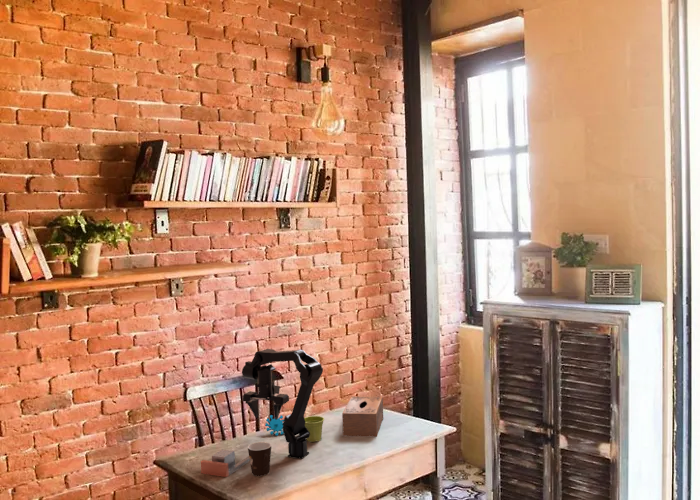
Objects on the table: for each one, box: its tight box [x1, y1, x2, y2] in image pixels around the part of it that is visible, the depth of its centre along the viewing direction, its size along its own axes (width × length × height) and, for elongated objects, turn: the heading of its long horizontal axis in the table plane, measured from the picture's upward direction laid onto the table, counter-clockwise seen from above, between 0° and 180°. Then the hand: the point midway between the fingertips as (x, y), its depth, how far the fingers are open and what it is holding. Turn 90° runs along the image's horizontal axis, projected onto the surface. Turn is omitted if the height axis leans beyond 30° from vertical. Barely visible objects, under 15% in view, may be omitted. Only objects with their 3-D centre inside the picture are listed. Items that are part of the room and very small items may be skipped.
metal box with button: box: [211, 448, 236, 469], centre depth 247 cm, size 6×8×6 cm
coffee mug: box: [247, 441, 272, 477], centre depth 240 cm, size 12×9×10 cm
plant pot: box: [304, 415, 325, 443], centre depth 275 cm, size 9×9×9 cm
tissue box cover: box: [341, 395, 384, 437], centre depth 290 cm, size 26×14×10 cm, turn 171°
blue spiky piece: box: [264, 414, 284, 437], centre depth 286 cm, size 11×6×10 cm
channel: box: [200, 455, 250, 478], centre depth 249 cm, size 11×18×4 cm, turn 157°
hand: (266, 418), depth 267 cm, fingers open, 9 cm apart
